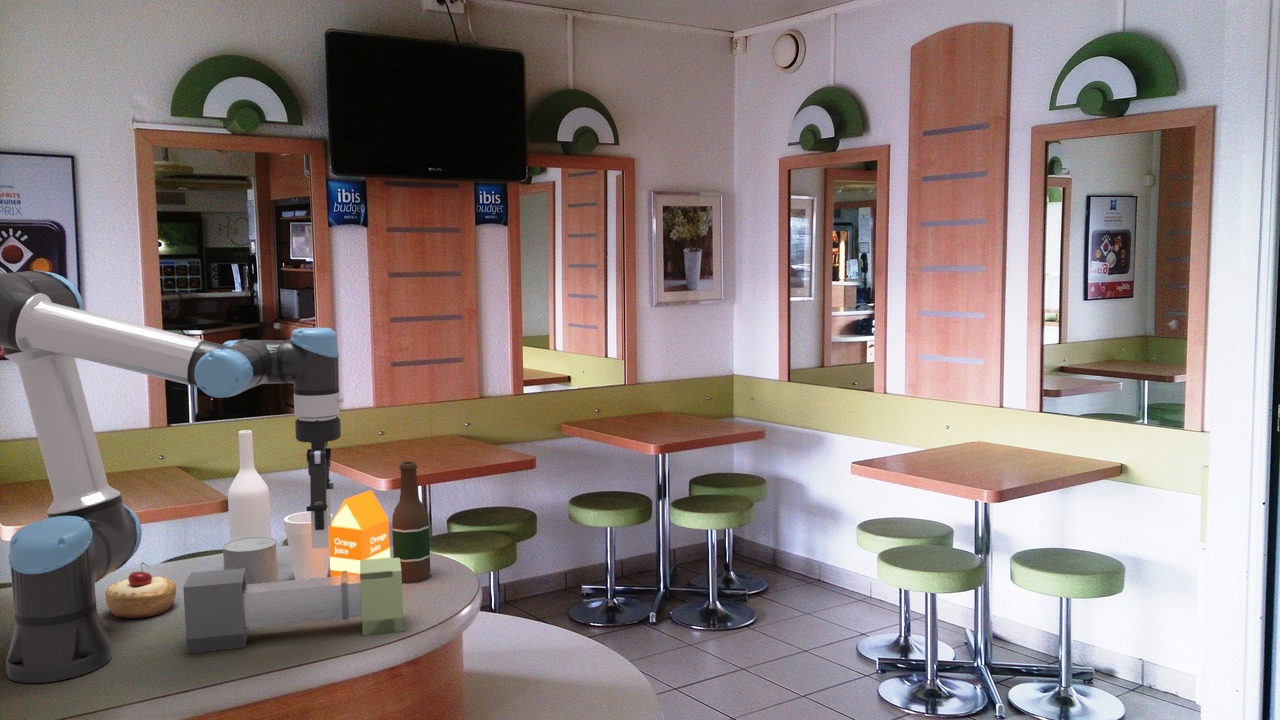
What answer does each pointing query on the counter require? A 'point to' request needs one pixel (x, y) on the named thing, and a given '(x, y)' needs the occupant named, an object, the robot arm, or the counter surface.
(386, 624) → the socket
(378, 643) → the counter surface
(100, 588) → the counter surface
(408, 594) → the counter surface
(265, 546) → the gray cylinder
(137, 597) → the pastry
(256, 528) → the bottle
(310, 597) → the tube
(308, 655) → the counter surface
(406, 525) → the beer bottle
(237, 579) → the sleeve
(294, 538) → the foam cup
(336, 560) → the orange juice
